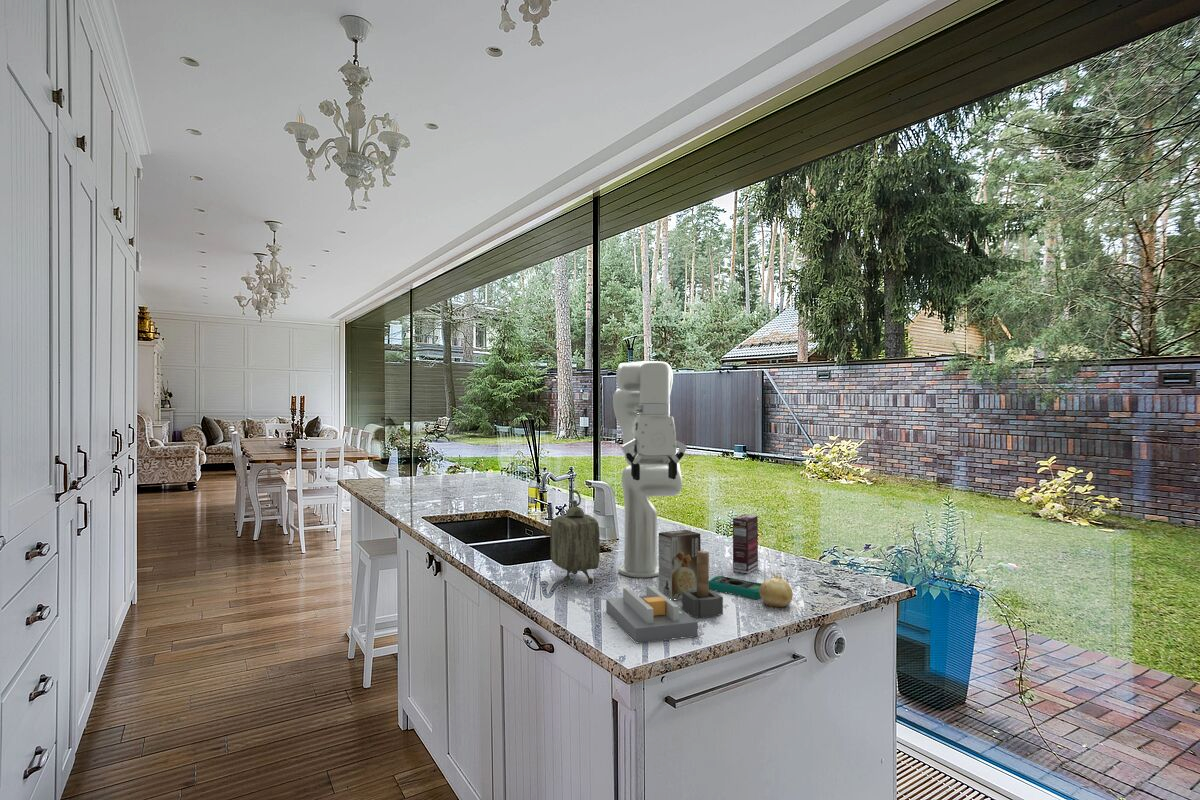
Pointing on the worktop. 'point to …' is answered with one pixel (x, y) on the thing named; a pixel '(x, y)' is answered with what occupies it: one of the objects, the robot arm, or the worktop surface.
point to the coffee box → (678, 562)
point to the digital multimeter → (735, 586)
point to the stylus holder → (702, 604)
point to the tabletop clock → (575, 541)
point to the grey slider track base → (650, 617)
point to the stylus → (702, 574)
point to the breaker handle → (656, 605)
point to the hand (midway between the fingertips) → (654, 479)
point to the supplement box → (745, 543)
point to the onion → (776, 592)
